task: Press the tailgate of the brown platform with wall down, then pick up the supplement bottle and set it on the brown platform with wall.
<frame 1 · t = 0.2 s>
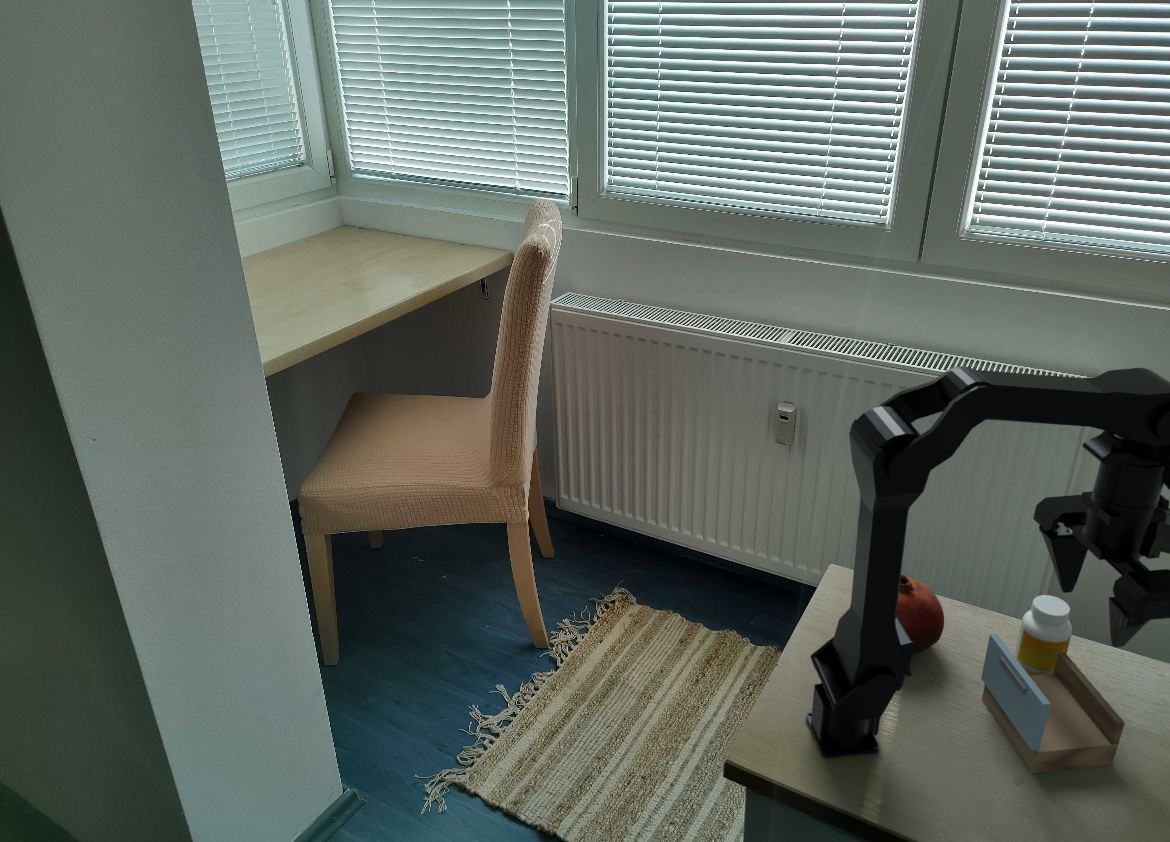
hand: (1091, 617, 98), 14 cm above the table, tool pointing down, fingers open, 9 cm apart
tailgate: (1012, 690, 98), point 7 cm above the table, hinge at 0.0°
supplement bottle: (1036, 670, 111), on the table
fruit: (894, 644, 116), on the table
brown platform with wall: (1044, 730, 102), on the table
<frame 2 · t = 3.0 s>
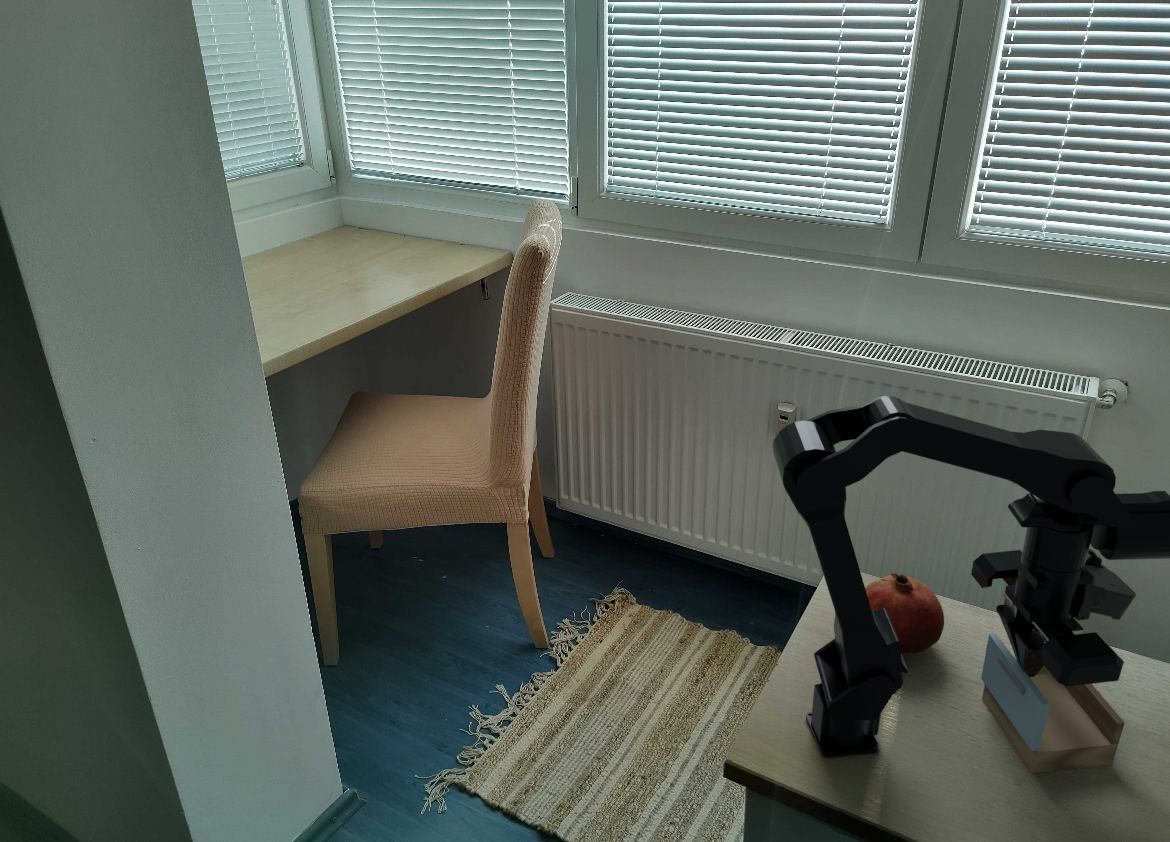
hand: (1027, 675, 98), 9 cm above the table, tool pointing down, fingers closed, pressing on tailgate
tailgate: (1011, 690, 98), point 7 cm above the table, hinge at 0.9°, touching gripper
everything else where it was.
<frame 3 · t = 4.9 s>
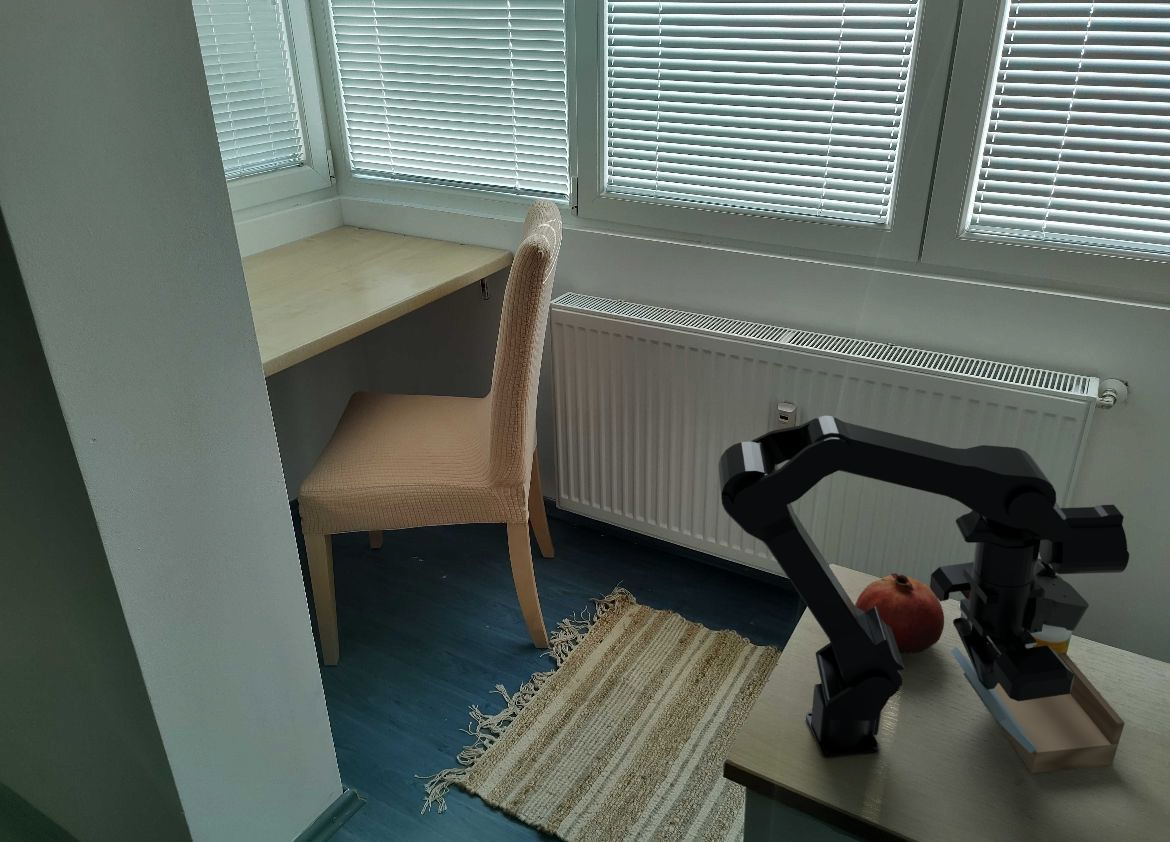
hand: (987, 687, 98), 7 cm above the table, tool pointing down, fingers closed, pressing on tailgate
tailgate: (990, 699, 99), point 6 cm above the table, hinge at 40.8°, touching gripper
everything else where it was.
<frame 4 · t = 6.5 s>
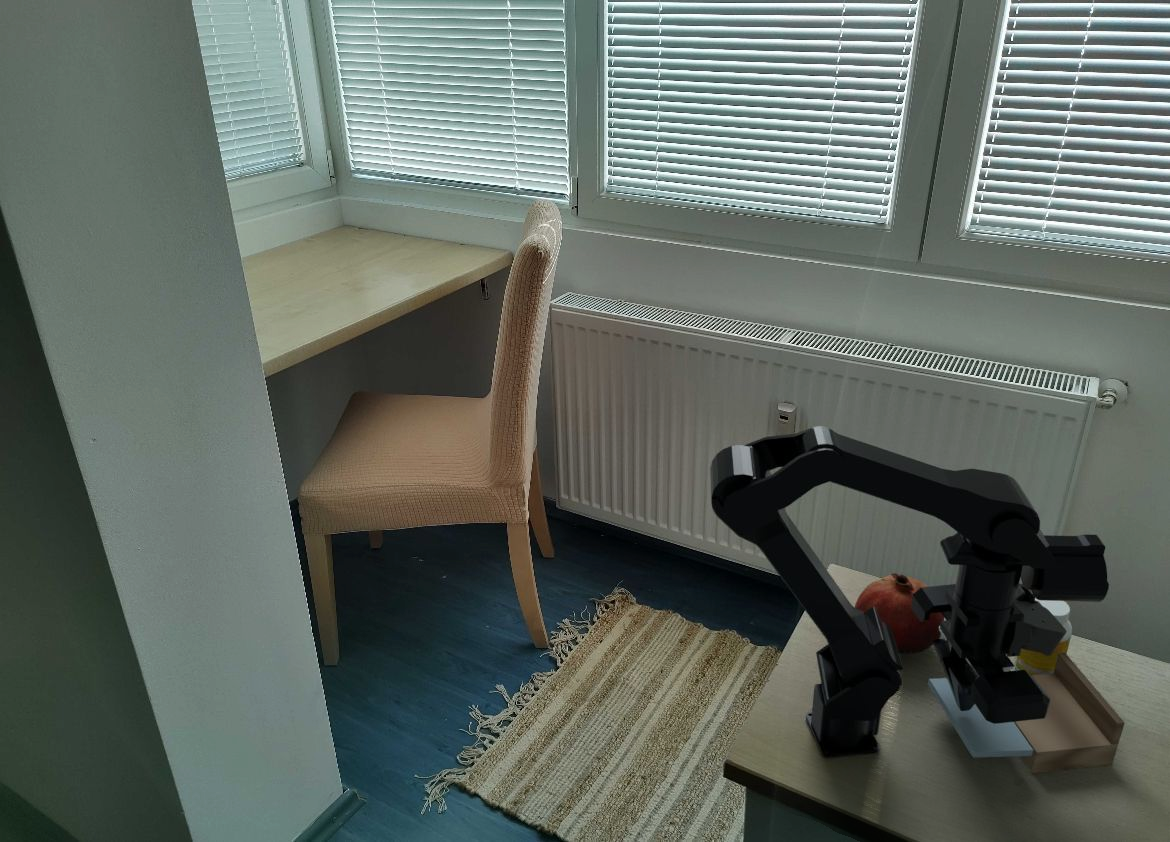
hand: (963, 708, 99), 5 cm above the table, tool pointing down, fingers closed
tailgate: (977, 716, 100), point 3 cm above the table, hinge at 84.3°
everything else where it was.
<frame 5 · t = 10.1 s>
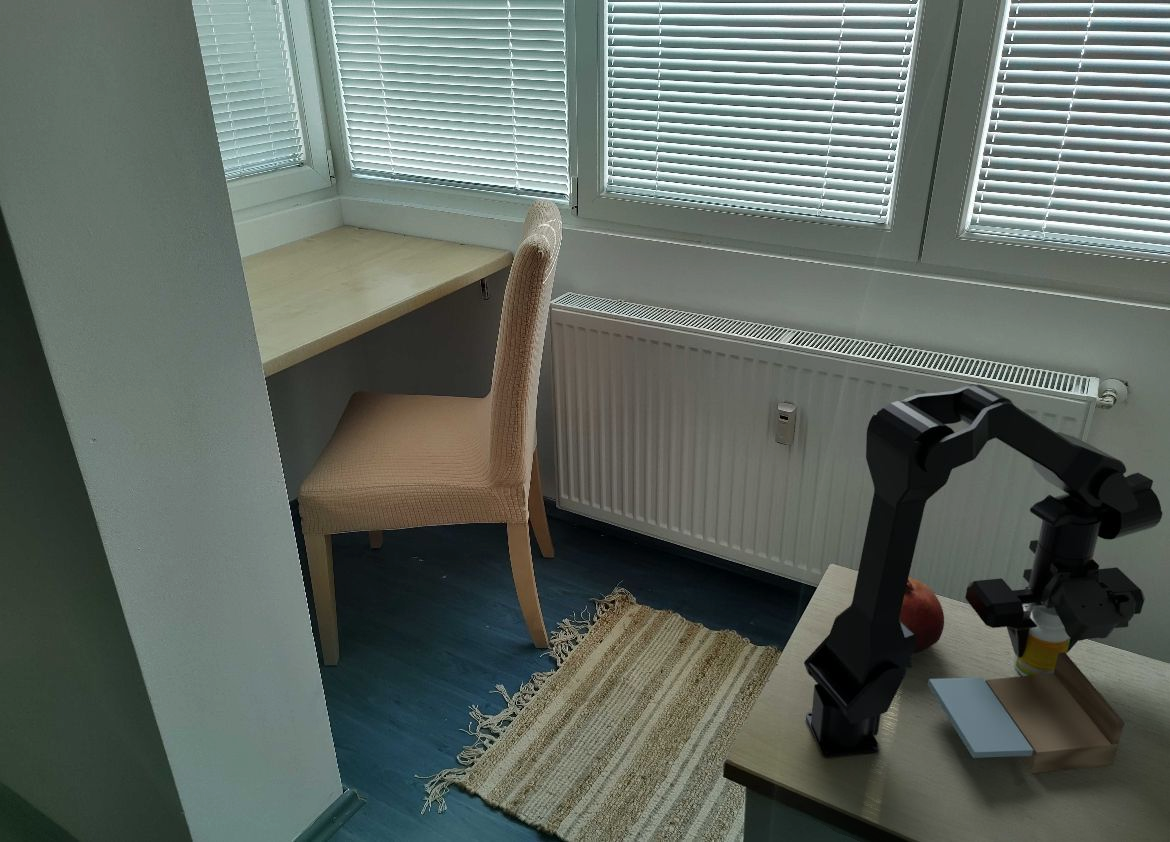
hand: (1040, 652, 109), 3 cm above the table, tool pointing down, fingers closed on supplement bottle, 5 cm apart
tailgate: (977, 716, 100), point 3 cm above the table, hinge at 84.6°
supplement bottle: (1036, 670, 111), on the table, touching gripper
everything else where it was.
when the fingers open (7 cm above the table, at t = 14.0 s): supplement bottle drops 1 cm, resting on brown platform with wall.
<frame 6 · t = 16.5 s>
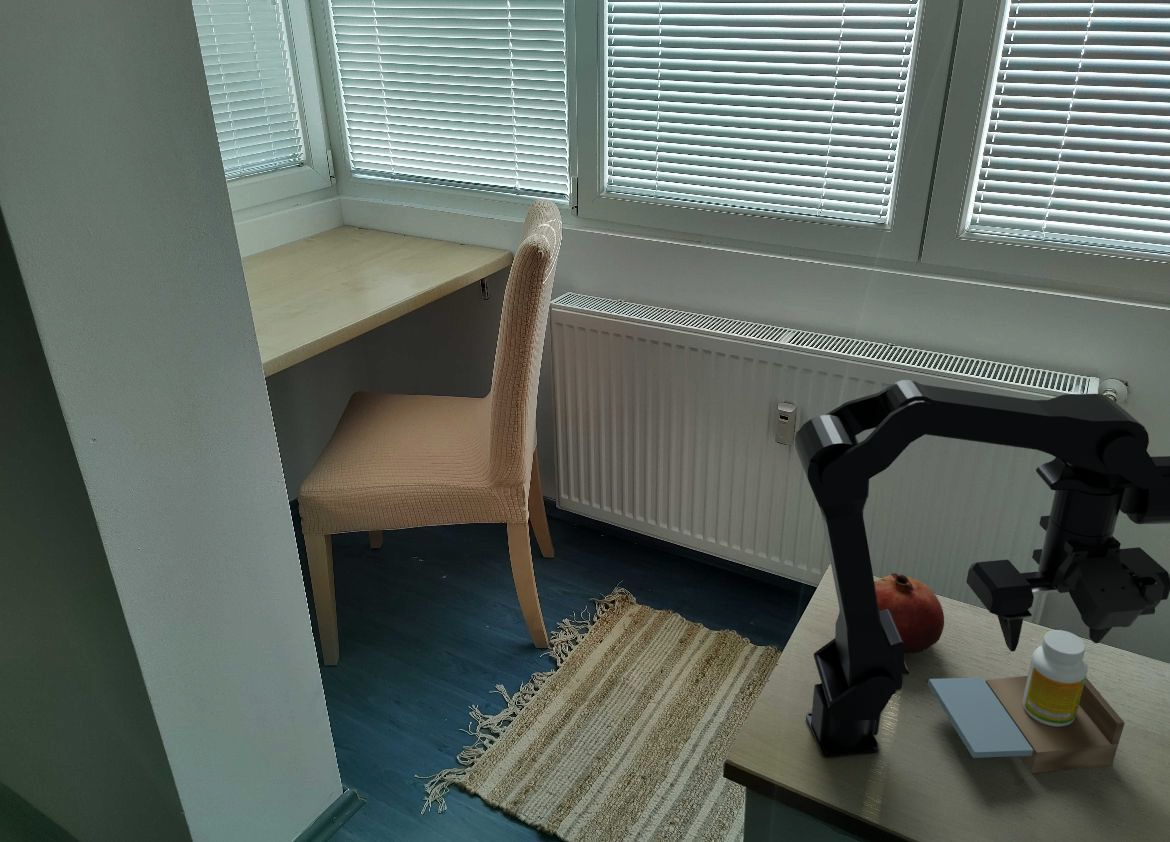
hand: (1052, 644, 96), 12 cm above the table, tool pointing down, fingers open, 9 cm apart
supplement bottle: (1048, 711, 100), point 3 cm above the table, touching brown platform with wall
everything else where it was.
at the end: tailgate at +85° (first picture: +0°); supplement bottle inside the target area on the brown platform with wall (0.1 cm from its centre), point 2.8 cm above the brown platform with wall's base; supplement bottle tilted 0° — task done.
